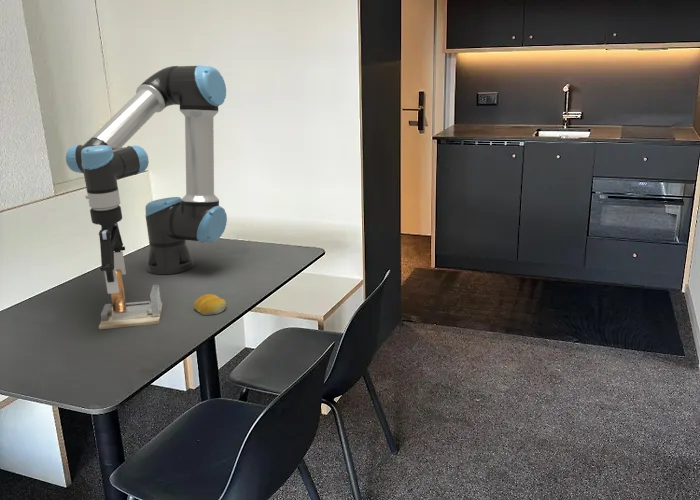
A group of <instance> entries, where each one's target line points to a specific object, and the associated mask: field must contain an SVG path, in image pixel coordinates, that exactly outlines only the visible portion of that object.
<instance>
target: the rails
mask: <svg viewBox="0 0 700 500" xmlns="http://www.w3.org/2000/svg"><path fill="white" fill-rule="evenodd" d="M150 303H151V300H145V301H135V302H126V306H134V305H146V304H150ZM112 306H113V305H112V303H105V304H104V305H103V308H102V309H101V313H100V319H101V320H102V321H108V320H109V317H110V315H111V312H112ZM145 317H148V310H147V309H146V310H135V311H124V312H113V313H112V319H113V320H124V319H134V318H145ZM101 320H100V321H101Z"/></svg>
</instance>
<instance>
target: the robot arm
mask: <svg viewBox="0 0 700 500" xmlns="http://www.w3.org/2000/svg"><path fill="white" fill-rule="evenodd" d="M226 85H227V84H226V82H225V79H224V77H223V75H222V74H221V72H220V70H218V69H217V68H215V67H213V66H210V65H183V66H182V65H181V66H180V65H171V66H167V67H164V68H161V69H160V70H158V71H157V72H155V73H153V74H152V75H151V76H149V77H148V78H146V79H145V80H144V81H143V82H142V83H141V84H140V85H138V87H137V88H136V92H135V93H136V94H135V95H134V96H133V97H131V99H129V100H128V102H126V104H124V105H123V106H122V107H121V108H120V109H119V110H118V111H117V112H116V113H115V114H113V116H112V117H111V118H110V119H109V120H108V121H107V122H106V123H105V124H104V125H103V126H101V128H99V130H98V131H96V133H94V134H93V136H91V138H89V140H87V141H86V142H85V143H84V144H83V145H82V144H77V145H73V146H70V147H69V148H68V149H67V152H66V153H65V161H66V166H67V167H68V168H69V170H71V171H72V172H74V173H79V174H83V176H84V182H85V188H86V192H87V194H86V195H85V199H86V200H88V204H89V205H88V207H89V208H90V209H89V212H90V218H91V223H92V224H94V225H100V227H101V229H100V230H99V232H98V236H99V247H100V259H101V260H100V262H101V267H99V270H100V272H104V273H103V274H104V278H105V285H106V292H107V294H108V295H109V294H110V295H111V293H119V288H118V281H117V275H116V269H120V270H121V272H122V276H123V275H126V274H127V271H126V265H125V260H124V252H123V251H126V246H124V243H123V240H122V236H121V232H120V229H119V226H118V225H119V224H118V222H121V221H122V220H123V214H122V208H121V206H120V204H121V200H120V199H121V198H120V193H119V186H118V180H120V179H124V178H128V177H132V176H134V175H135V176H136V175H139V174H140V173H143V172H145V171H146V170H147V168H148V167H149V155H148V153H147V151H146V150H145V149H144V148H143V147H141V146H140V145H127V146H126V147H125V145H126V143H127V142H128V141H129V140H131V139H132V138H133V136H134V135H135V134H136V133H137V132H138V131H139V130H140V129H141V128H142V127H143V126H144V125H145V124H146V123H147V122H148V121H149V120H150V119H151V118H152V117H153V116H154V114H156V113H160V112H162V111H163V110H164V109H166V108H167V107H169V106H174V105H175V106H176V105H177V106H179V111H180V113H182V115H183V116H184V141H185V142H184V143H185V144H184V145H185V147H184V148H185V184H186V185H185V186H186V187H185V189H186V191H185V195H184V196H183V197H182V198H181V197H179V196H171V197H163V198H158V199H155V200H151V201H149V202H148V203H147V204H146V205H145V215H144V216H145V221H146V222H145V223H146V229H147V235H148V244H149V249H148V253H147V257H146V261H145V266H146V271H147V272H148V273H150V274H153V275H154V274H155V275H174V274H179V273H183V272H186V271H188V270H190V269H191V268H193V267H194V265H195V264H194V258H193V255H192V253H191V251H190V249H189V247H188V245H187V242H186V241H193V242H199V243H214V242H216V241H218V240H219V239H220V238H221V237H222V236H223V234H224V232H225V230H226V228H227V227H226V226H227V222H228V216H227V212H226V210H225V208H223V206H221V205H220V199H219V198H218V196H216V194H215V170H214V168H215V157H214V155H215V154H214V153H215V151H214V144H215V142H214V140H215V139H214V138H215V137H214V132H215V131H214V118H215V116H216V115H217V114H218V113H219V106H222V105H223V104H224V103H225V99H226V97H227V87H226Z"/></svg>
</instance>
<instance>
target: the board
mask: <svg viewBox="0 0 700 500" xmlns="http://www.w3.org/2000/svg"><path fill="white" fill-rule="evenodd" d="M150 304H151V302H150ZM162 309H163V301H161V307H160V312H159V316H152V313H151V314H148V317H145V318H134V319H124V320H113V319H112V313H113V312H114V311H113V305H112V312H111V315H110V317H109V320H108V321H102V320H100V323H99V325H98V330H106V329H107V330H110V329H117V328H129V327H139V326H140V327H141V326H150V325H159V324H160V320H161V314H162Z"/></svg>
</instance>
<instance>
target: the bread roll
mask: <svg viewBox="0 0 700 500" xmlns="http://www.w3.org/2000/svg"><path fill="white" fill-rule="evenodd" d="M193 307H194V310H196V312H197V313H200V314H201V315H203V316H208V315H212V316H213V315H218V314H220V313H222V312H224V311H225V309H226V308H227V302H226V300H225V299H223V298H221V297H219V296H217V295H216V294H213V293H208V294H203V295H200V296H199V297H198V298H197V299H195V302H194V303H193Z"/></svg>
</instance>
